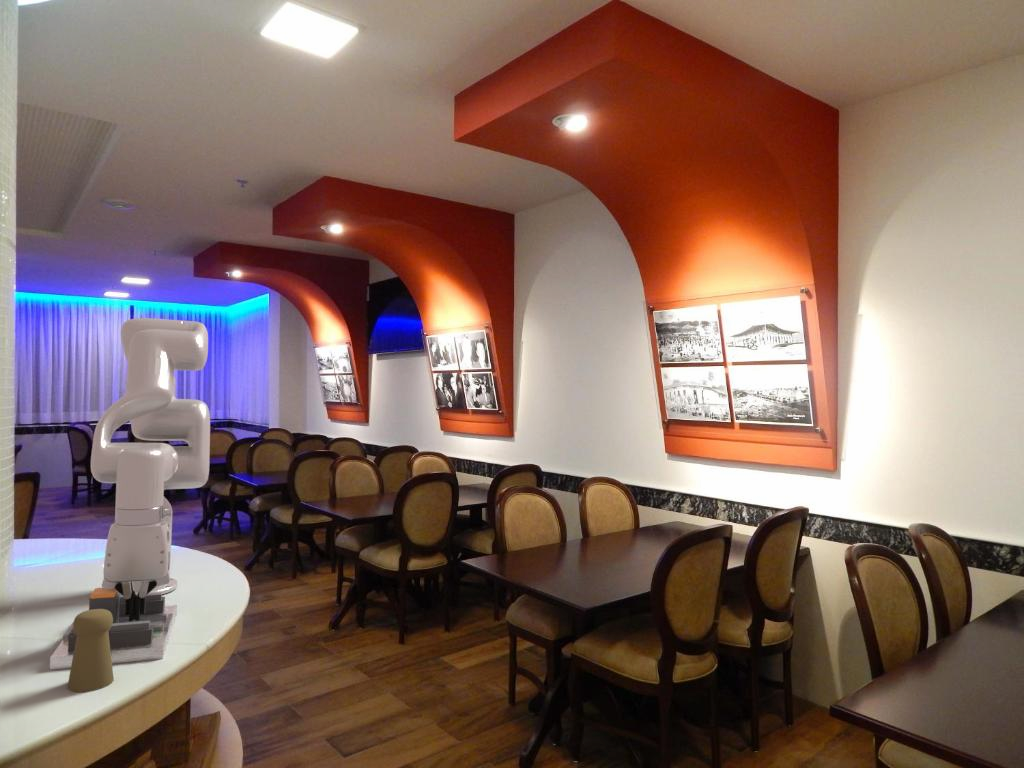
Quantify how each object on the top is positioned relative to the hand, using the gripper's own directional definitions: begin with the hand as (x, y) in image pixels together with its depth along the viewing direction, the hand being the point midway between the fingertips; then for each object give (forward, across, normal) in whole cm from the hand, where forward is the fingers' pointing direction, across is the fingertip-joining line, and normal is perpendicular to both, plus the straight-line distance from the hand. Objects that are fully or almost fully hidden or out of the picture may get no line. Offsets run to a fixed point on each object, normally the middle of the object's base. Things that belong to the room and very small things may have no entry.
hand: (135, 618), depth 120 cm
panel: (+4, +2, 0) cm, 4 cm away
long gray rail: (+2, +2, 0) cm, 3 cm away
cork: (+4, +4, +18) cm, 19 cm away
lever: (+1, +5, 0) cm, 5 cm away
